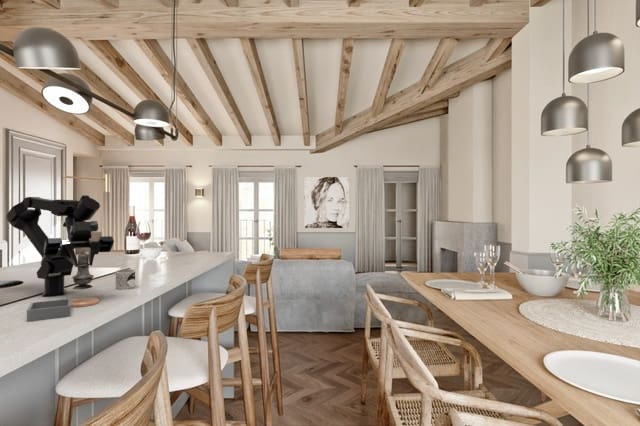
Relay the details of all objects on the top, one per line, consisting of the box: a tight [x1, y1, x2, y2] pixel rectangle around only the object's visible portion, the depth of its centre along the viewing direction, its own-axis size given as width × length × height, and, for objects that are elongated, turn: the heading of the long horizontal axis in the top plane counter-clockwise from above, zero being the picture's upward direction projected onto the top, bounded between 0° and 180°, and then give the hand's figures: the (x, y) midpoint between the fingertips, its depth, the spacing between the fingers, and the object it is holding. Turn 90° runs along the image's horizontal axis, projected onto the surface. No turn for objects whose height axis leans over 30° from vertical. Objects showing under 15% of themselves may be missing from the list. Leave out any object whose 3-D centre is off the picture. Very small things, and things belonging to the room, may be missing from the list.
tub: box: [26, 298, 72, 323], centre depth 104 cm, size 10×10×3 cm
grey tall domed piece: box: [71, 250, 95, 290], centre depth 116 cm, size 6×6×12 cm
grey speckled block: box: [115, 269, 136, 291], centre depth 141 cm, size 10×7×7 cm, turn 5°
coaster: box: [71, 297, 100, 308], centre depth 116 cm, size 8×8×1 cm
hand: (84, 265), depth 115 cm, fingers closed on grey tall domed piece, 4 cm apart
